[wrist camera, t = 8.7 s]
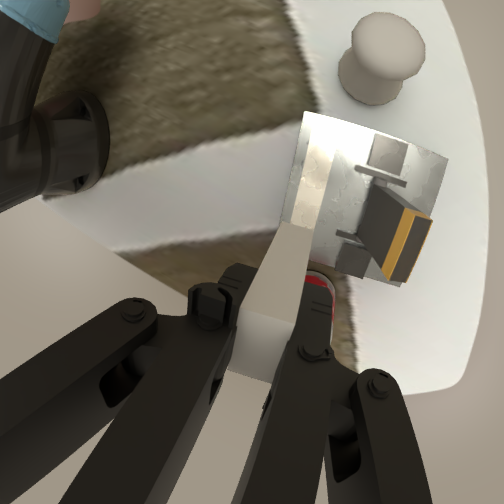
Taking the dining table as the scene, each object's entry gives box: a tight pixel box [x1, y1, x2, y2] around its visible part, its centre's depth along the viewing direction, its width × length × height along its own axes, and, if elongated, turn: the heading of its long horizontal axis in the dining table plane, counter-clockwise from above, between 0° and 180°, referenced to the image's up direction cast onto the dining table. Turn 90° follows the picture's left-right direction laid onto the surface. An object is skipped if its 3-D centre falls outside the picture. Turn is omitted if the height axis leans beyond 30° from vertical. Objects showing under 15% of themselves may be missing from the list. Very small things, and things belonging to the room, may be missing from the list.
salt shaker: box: [338, 12, 425, 105], centre depth 16 cm, size 6×6×13 cm
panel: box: [278, 111, 448, 287], centre depth 25 cm, size 14×14×3 cm
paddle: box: [356, 177, 433, 283], centre depth 21 cm, size 2×6×8 cm, turn 170°
